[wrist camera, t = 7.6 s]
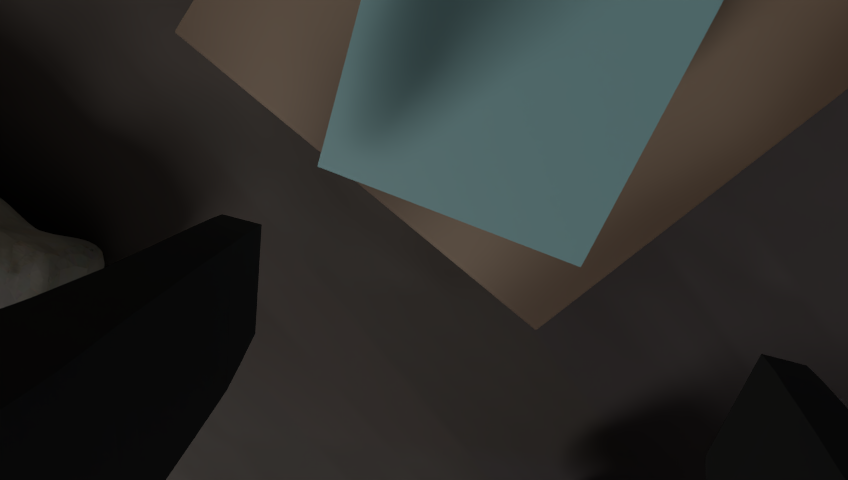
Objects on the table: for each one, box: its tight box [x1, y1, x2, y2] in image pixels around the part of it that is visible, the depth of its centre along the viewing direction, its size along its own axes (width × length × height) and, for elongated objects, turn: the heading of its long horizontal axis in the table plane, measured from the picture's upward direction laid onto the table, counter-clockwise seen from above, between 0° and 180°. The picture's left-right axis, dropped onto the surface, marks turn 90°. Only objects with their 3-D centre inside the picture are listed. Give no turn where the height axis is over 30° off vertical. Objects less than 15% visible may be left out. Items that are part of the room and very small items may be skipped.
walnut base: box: [175, 0, 848, 330], centre depth 17 cm, size 12×12×2 cm
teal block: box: [318, 0, 724, 267], centre depth 14 cm, size 5×5×5 cm
